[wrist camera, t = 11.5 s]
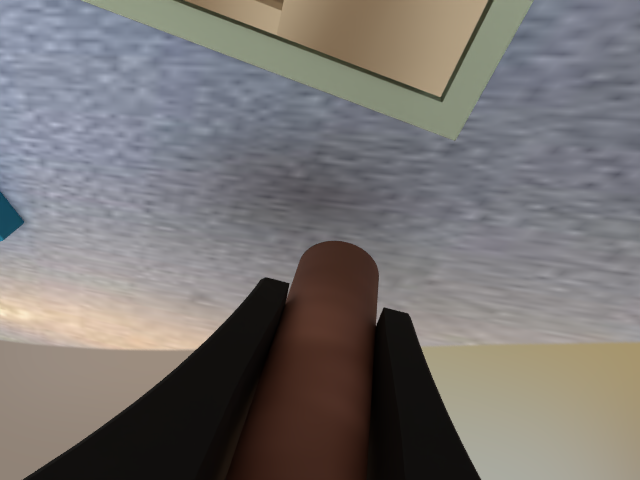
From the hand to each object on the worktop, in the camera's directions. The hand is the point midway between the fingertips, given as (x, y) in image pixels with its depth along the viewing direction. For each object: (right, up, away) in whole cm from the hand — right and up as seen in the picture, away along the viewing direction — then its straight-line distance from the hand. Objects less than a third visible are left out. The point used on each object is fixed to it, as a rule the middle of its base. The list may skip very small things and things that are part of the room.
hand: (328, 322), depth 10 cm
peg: (0, +1, +2) cm, 2 cm away
